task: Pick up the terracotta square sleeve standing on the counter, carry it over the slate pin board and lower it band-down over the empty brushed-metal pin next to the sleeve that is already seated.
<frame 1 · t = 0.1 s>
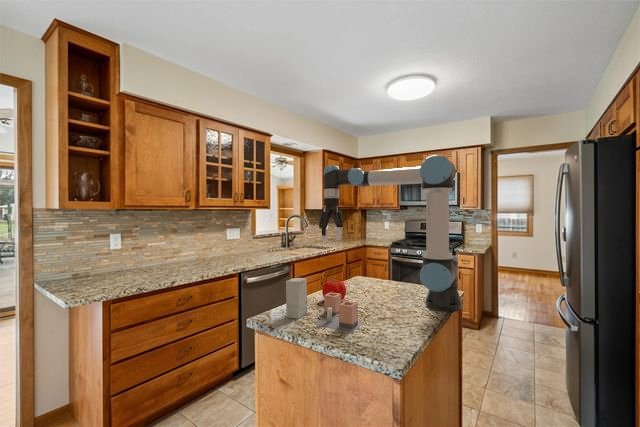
hand: (331, 241, 151), 28 cm above the countertop, tool pointing down, fingers open, 13 cm apart
sleeve seated: (348, 325, 114), point 1 cm above the countertop, touching pin board
sleeve free: (332, 313, 129), on the countertop
skincare box: (296, 315, 127), on the countertop
pin board: (338, 324, 116), on the countertop
tomato: (334, 301, 146), on the countertop
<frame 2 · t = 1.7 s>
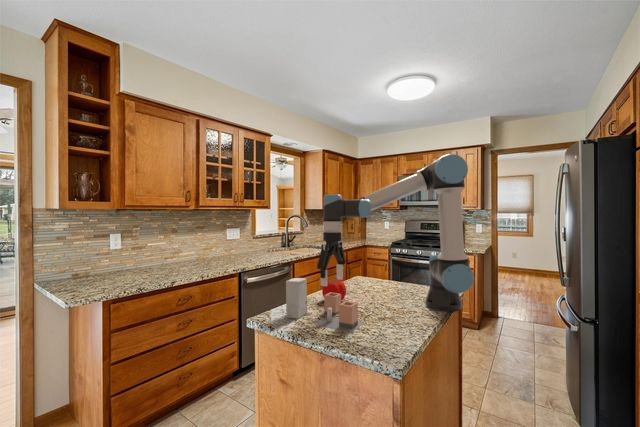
hand: (332, 282, 128), 13 cm above the countertop, tool pointing down, fingers open, 13 cm apart
nothing on the countertop moved.
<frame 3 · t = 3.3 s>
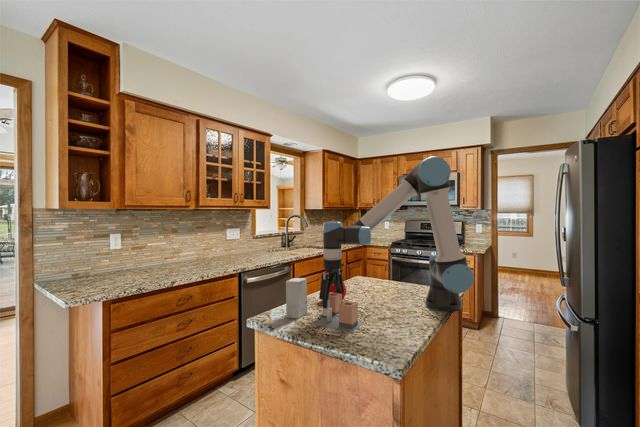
hand: (332, 312, 128), 1 cm above the countertop, tool pointing down, fingers open, 10 cm apart
nothing on the countertop moved.
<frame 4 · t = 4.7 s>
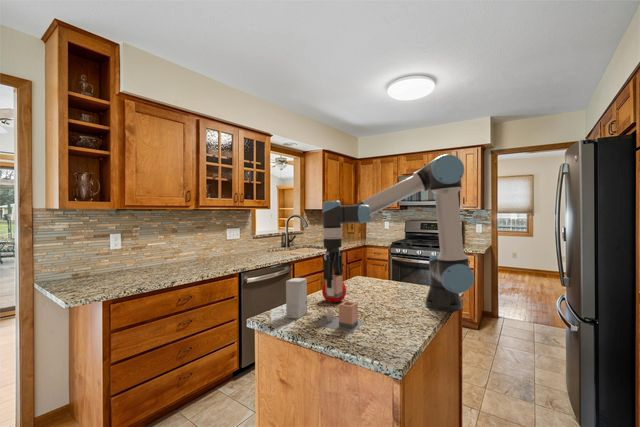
hand: (334, 293, 128), 8 cm above the countertop, tool pointing down, fingers closed on sleeve free, 5 cm apart
sleeve free: (334, 295, 128), point 8 cm above the countertop, touching gripper
everything else where it was.
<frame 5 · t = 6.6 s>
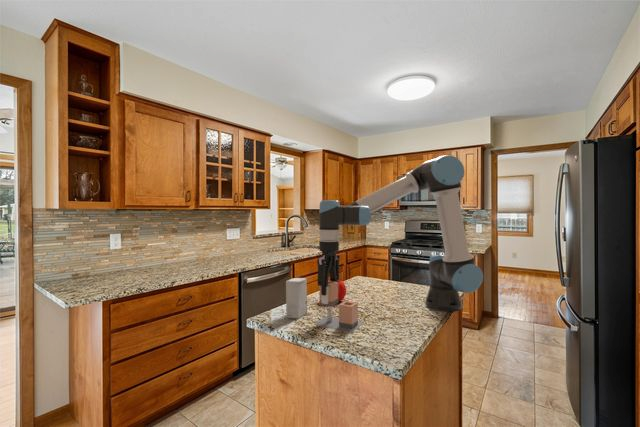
hand: (328, 301, 118), 8 cm above the countertop, tool pointing down, fingers closed on sleeve free, 5 cm apart
sleeve free: (328, 303, 118), point 8 cm above the countertop, touching gripper
everything else where it was.
when the fingers open (1 cm above the countertop, at t = 8.6 s): sleeve free stays where it is, resting on pin board.
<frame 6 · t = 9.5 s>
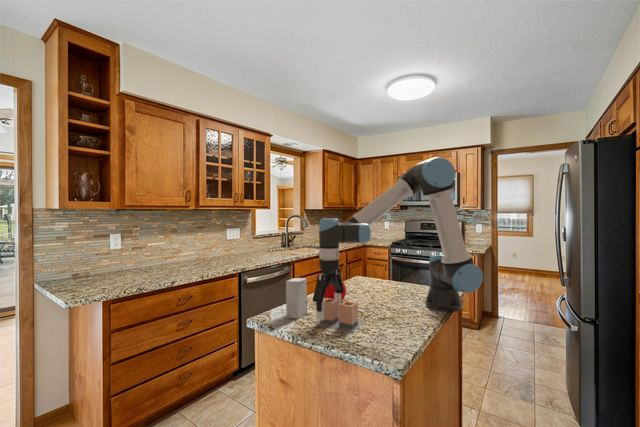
hand: (329, 314, 118), 3 cm above the countertop, tool pointing down, fingers open, 13 cm apart
sleeve free: (329, 321, 118), point 1 cm above the countertop, touching pin board
everything else where it was.
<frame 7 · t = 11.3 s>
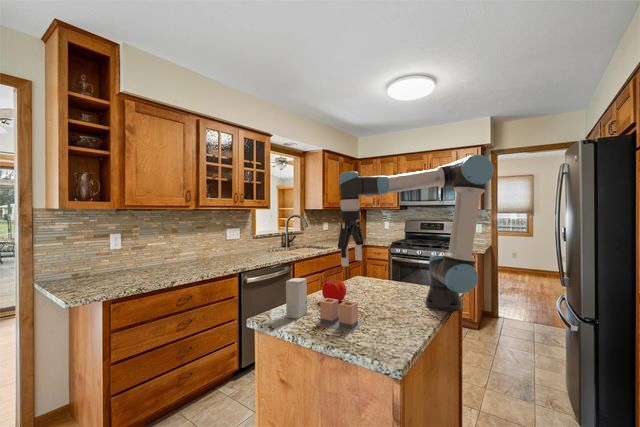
hand: (352, 263, 124), 22 cm above the countertop, tool pointing down, fingers open, 13 cm apart
nothing on the countertop moved.
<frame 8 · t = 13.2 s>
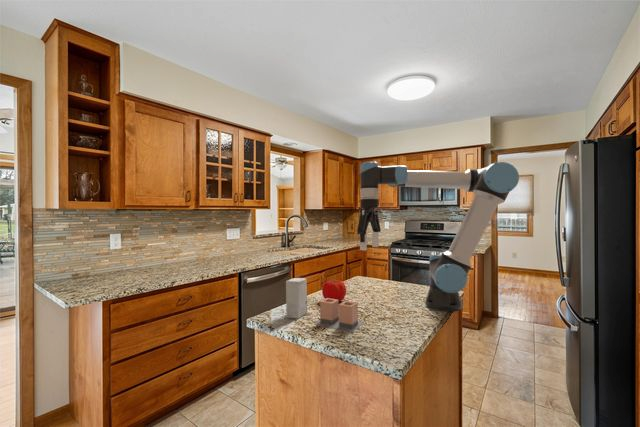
hand: (369, 248, 132), 27 cm above the countertop, tool pointing down, fingers open, 13 cm apart
nothing on the countertop moved.
at the end: sleeve free 0.0 cm from the target spot, point 0.6 cm above the countertop; sleeve free tilted 0°; the gripper is holding nothing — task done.
